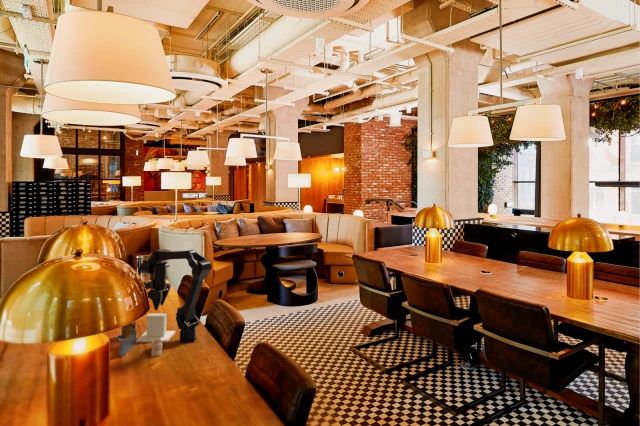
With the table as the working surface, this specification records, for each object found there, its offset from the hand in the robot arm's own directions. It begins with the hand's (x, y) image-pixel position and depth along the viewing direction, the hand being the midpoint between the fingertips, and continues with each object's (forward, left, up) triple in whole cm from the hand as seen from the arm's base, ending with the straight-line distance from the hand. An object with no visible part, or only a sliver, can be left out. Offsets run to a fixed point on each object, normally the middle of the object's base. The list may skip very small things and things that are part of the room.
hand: (159, 307), depth 202 cm
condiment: (+14, +4, -14) cm, 20 cm away
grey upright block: (0, +4, -12) cm, 13 cm away
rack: (+6, +21, -13) cm, 25 cm away
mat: (0, +4, -13) cm, 14 cm away
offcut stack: (-6, +22, -13) cm, 27 cm away
